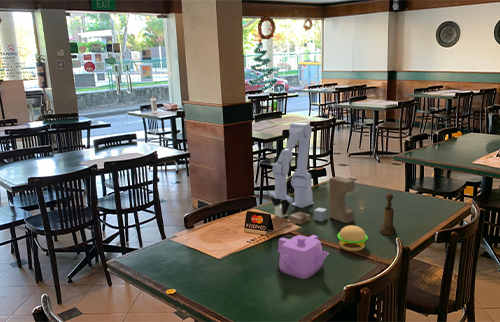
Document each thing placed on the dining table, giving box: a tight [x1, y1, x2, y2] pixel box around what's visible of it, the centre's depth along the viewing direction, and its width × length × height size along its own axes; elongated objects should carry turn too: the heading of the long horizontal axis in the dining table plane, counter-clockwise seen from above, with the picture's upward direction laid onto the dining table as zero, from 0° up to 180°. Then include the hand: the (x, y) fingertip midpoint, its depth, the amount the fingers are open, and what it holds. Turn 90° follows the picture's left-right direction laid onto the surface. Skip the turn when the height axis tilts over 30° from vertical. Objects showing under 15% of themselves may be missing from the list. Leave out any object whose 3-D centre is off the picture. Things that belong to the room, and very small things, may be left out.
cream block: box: [274, 203, 289, 219], centre depth 208 cm, size 4×4×5 cm
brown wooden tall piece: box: [379, 192, 397, 236], centre depth 183 cm, size 7×6×18 cm
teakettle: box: [277, 234, 330, 280], centre depth 154 cm, size 17×17×12 cm
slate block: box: [313, 207, 328, 222], centre depth 202 cm, size 4×4×5 cm
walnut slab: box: [289, 211, 311, 225], centre depth 202 cm, size 7×7×3 cm
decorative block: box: [328, 176, 356, 224], centre depth 199 cm, size 11×6×20 cm, turn 37°
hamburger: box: [337, 225, 368, 252], centre depth 171 cm, size 12×12×9 cm
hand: (281, 212), depth 209 cm, fingers closed on cream block, 4 cm apart
